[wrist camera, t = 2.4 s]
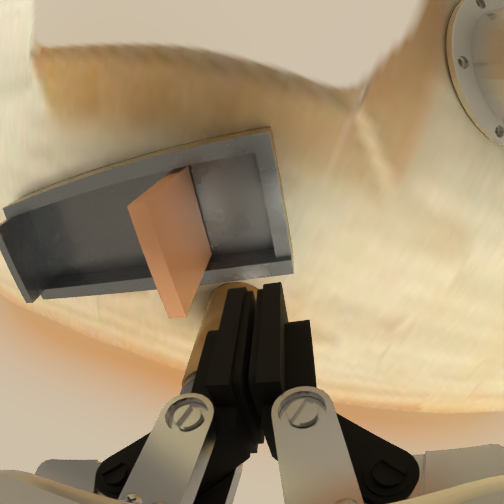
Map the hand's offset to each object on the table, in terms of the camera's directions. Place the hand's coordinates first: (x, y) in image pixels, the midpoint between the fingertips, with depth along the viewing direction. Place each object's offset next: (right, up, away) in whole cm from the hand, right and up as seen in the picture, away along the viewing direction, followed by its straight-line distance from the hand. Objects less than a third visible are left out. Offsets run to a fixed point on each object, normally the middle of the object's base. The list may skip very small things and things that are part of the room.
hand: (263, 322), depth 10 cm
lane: (-9, +5, +13) cm, 16 cm away
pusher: (-4, +5, +11) cm, 13 cm away
